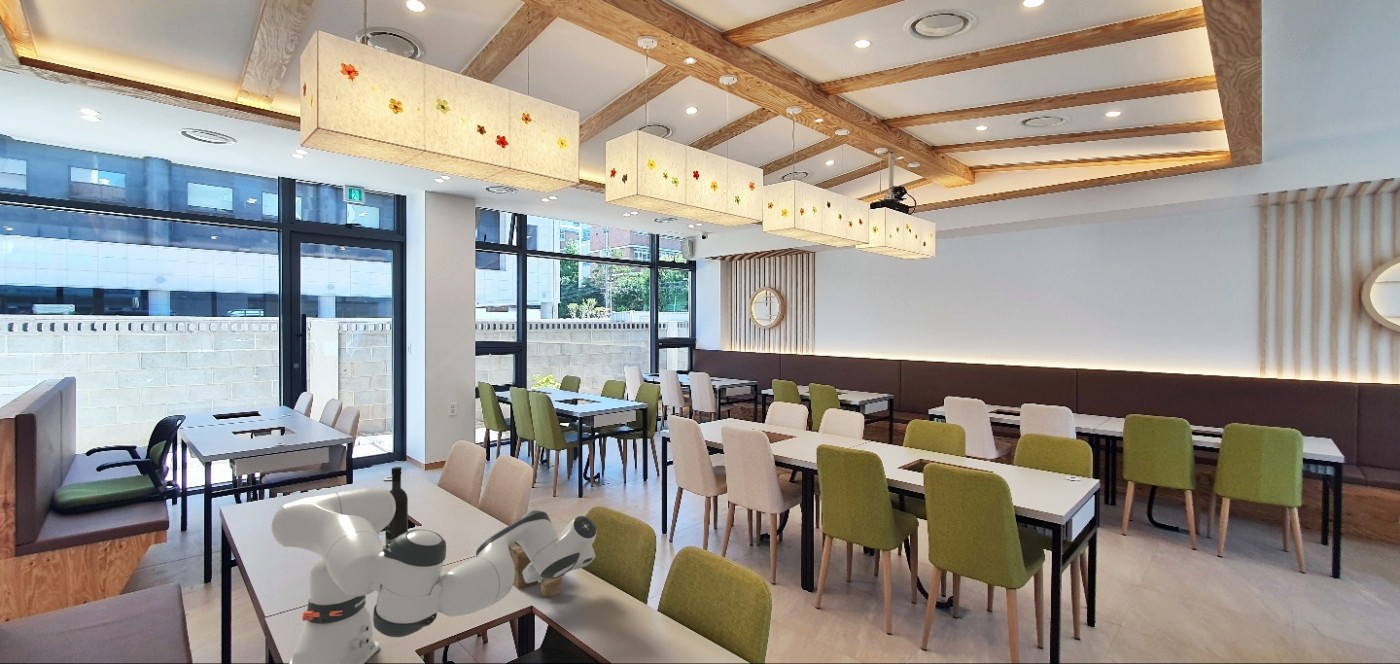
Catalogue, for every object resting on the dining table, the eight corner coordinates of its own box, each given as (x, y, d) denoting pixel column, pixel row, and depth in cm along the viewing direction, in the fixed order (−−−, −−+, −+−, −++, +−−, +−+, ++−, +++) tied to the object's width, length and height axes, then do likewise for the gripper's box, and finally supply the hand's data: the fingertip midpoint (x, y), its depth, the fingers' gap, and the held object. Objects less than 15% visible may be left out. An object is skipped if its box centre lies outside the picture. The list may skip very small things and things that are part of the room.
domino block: (561, 592, 179) (561, 565, 179) (545, 597, 176) (545, 570, 176) (556, 588, 181) (556, 562, 181) (541, 593, 178) (541, 567, 178)
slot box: (557, 577, 189) (557, 542, 189) (518, 589, 181) (518, 553, 181) (539, 564, 199) (539, 531, 199) (501, 575, 191) (501, 540, 191)
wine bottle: (392, 559, 202) (392, 470, 202) (384, 555, 206) (383, 468, 205) (409, 554, 207) (408, 467, 206) (400, 550, 210) (400, 465, 210)
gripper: (535, 574, 163) (519, 597, 171) (600, 555, 176) (583, 577, 184) (527, 553, 166) (513, 576, 174) (592, 536, 180) (576, 558, 187)
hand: (550, 577), depth 179 cm, fingers closed on domino block, 5 cm apart
